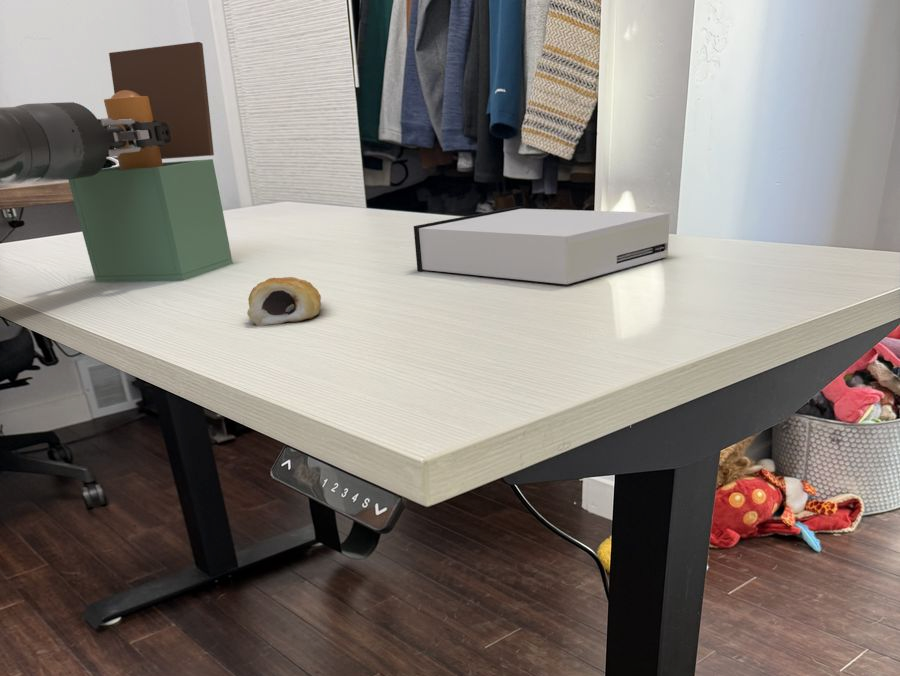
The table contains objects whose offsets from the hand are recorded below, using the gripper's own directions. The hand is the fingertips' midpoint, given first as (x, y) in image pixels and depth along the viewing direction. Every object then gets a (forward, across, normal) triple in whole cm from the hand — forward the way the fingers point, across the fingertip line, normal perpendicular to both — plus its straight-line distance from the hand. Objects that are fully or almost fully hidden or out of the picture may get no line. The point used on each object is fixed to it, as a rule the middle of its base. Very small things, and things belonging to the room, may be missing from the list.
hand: (147, 134), depth 108 cm
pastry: (-27, -32, +17) cm, 45 cm away
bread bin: (-2, 0, +16) cm, 16 cm away
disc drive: (-2, -51, +16) cm, 54 cm away
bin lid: (+4, 0, -3) cm, 5 cm away
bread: (-3, 0, +6) cm, 7 cm away
